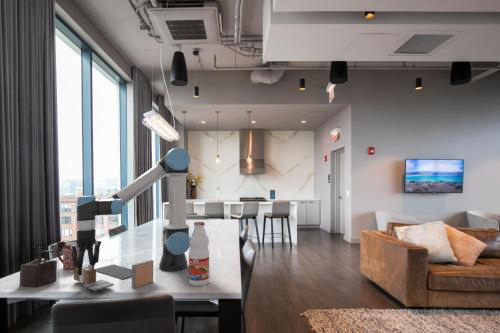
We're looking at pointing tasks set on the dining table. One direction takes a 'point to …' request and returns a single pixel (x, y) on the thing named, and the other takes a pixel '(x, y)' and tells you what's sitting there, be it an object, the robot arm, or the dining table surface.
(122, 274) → the mat
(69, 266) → the mug
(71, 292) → the dining table surface
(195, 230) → the fruit juice
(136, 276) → the tile
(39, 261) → the manual coffee grinder
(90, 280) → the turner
